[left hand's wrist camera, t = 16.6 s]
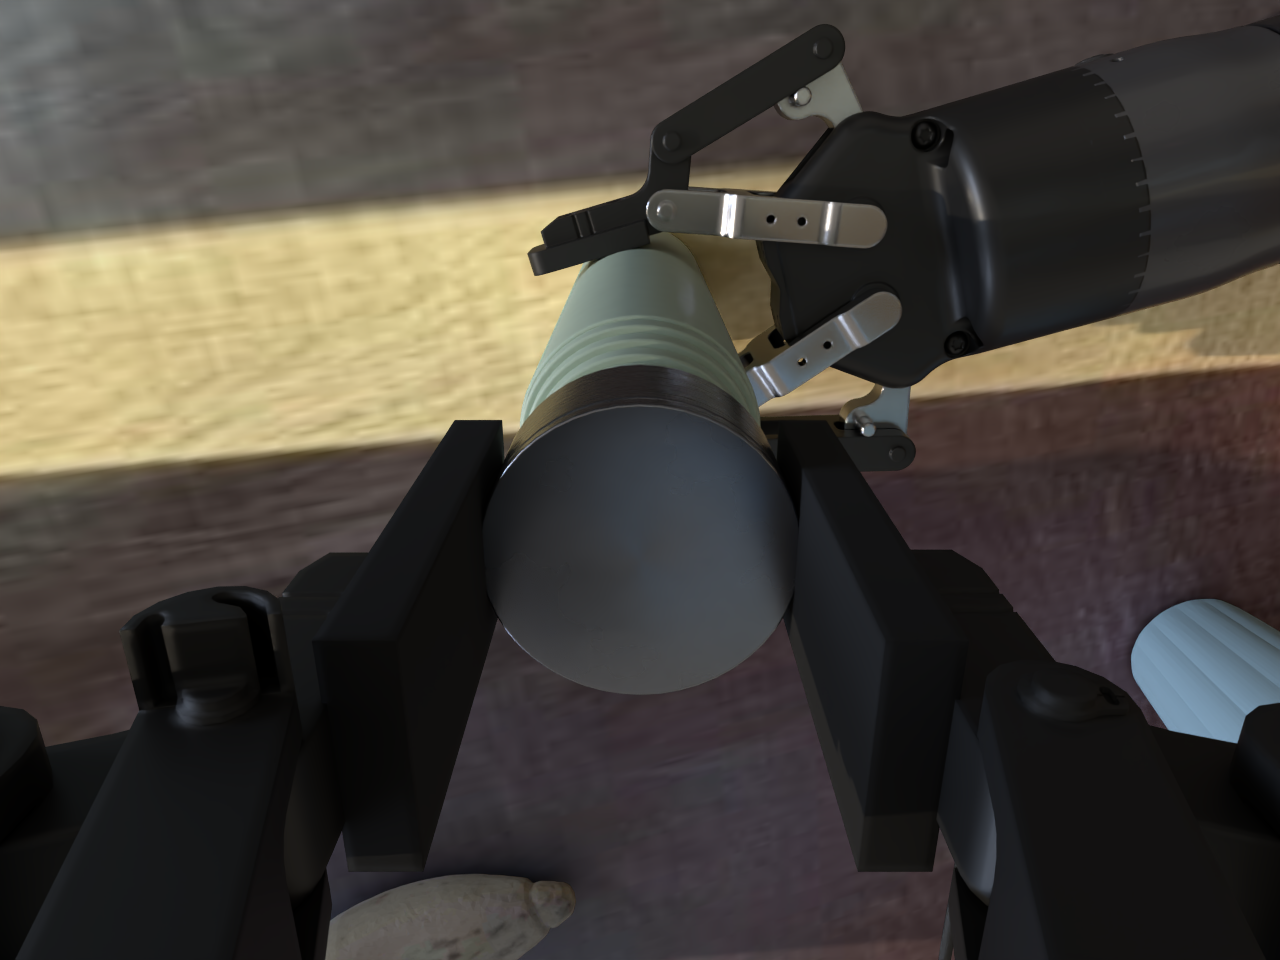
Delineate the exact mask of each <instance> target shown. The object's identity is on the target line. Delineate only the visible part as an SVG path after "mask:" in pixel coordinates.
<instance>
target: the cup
mask: <svg viewBox="0 0 1280 960" xmlns="http://www.w3.org/2000/svg"><path fill="white" fill-rule="evenodd" d="M1131 665H1132V673H1133V676H1134V679H1135V681H1136V682H1137V684H1138V685H1139V687H1140V688H1141V690H1142V691H1143V693H1144V694H1145V696H1146V697H1147V699H1148V700H1149V702H1150V703H1151V705H1152V706H1153V708H1154V709H1155V711H1156V712H1157V714H1158V715H1159V716H1160V718H1161V719H1162V721H1163V722H1164V724H1165V725H1166V727H1167V728H1168V730H1170V731H1175V732H1181V733H1186V734H1191V735H1196V736H1201V737H1207V738H1212V739H1217V740H1222V741H1227V742H1233V743H1237V742H1238V739H1239V736H1240V733H1241V729H1242V726H1243V723H1244V720H1245V716H1246V715H1247V714H1249V713H1250V712H1251V711H1253V710H1254V709H1255V708H1256V707H1258V706H1260V705H1267V704H1273V703H1280V631H1278V630H1276V629H1274V628H1273V627H1271V626H1269V625H1268V624H1266V623H1264V622H1263V621H1261V620H1259V619H1258V618H1256V617H1254V616H1252V615H1251V614H1249V613H1247V612H1245V611H1243V610H1242V609H1240V608H1238V607H1236V606H1233V605H1232V604H1229V603H1227V602H1224V601H1222V600H1217V599H1197V600H1190V601H1186V602H1183V603H1180V604H1178V605H1175V606H1173V607H1171V608H1169V609H1167V610H1165V611H1163V612H1162V613H1160V614H1159V615H1158V616H1156V617H1155V618H1154V619H1153V620H1152V621H1151V622H1150V623H1149V624H1148V625H1147V626H1146V627H1145V628H1144V629H1143V630H1142V632H1141V633H1140V635H1139V636H1138V638H1137V640H1136V643H1135V645H1134V648H1133V651H1132V655H1131Z"/></svg>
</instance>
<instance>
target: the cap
mask: <svg viewBox="0 0 1280 960" xmlns="http://www.w3.org/2000/svg"><path fill="white" fill-rule="evenodd" d="M482 535H483V549H484V562H485V576H486V589H487V597H488V599H489V601H490V603H491V605H492V607H493V610H494V612H495V614H496V615H497V617H498V618H499V620H500V622H501V623H502V625H503V626H504V628H505V629H506V631H507V632H508V633H509V634H510V635H511V637H512V638H513V639H514V640H515V641H516V643H517V644H518V645H519V646H520V647H521V648H522V649H524V650H525V651H526V652H527V653H528V654H529V655H530V656H531V657H532V658H534V659H535V660H536V661H538V662H539V663H541V664H542V665H543V666H545V667H546V668H548V669H549V670H551V671H553V672H555V673H557V674H559V675H560V676H562V677H564V678H566V679H569V680H571V681H573V682H576V683H578V684H581V685H583V686H587V687H591V688H594V689H598V690H601V691H607V692H613V693H619V694H634V695H647V694H662V693H668V692H674V691H680V690H683V689H687V688H690V687H694V686H697V685H700V684H703V683H705V682H707V681H710V680H712V679H715V678H717V677H719V676H721V675H722V674H724V673H726V672H728V671H730V670H731V669H733V668H735V667H736V666H738V665H739V664H740V663H742V662H743V661H744V660H746V659H747V658H748V657H750V656H751V655H752V654H753V653H754V652H755V651H756V650H757V649H758V648H759V647H761V646H762V645H763V644H764V643H765V641H766V640H767V639H768V638H769V637H770V635H771V634H772V633H773V632H774V630H775V629H776V628H777V626H778V625H779V623H780V621H781V620H782V618H783V617H784V615H785V613H786V612H787V610H788V607H789V605H790V603H791V601H792V598H793V596H794V589H795V577H796V563H797V549H798V536H799V518H798V514H797V511H796V508H795V504H794V501H793V499H792V496H791V494H790V492H789V489H788V487H787V484H786V482H785V480H784V477H783V475H782V472H781V470H780V468H779V465H778V463H777V461H776V458H775V456H774V453H773V451H772V449H771V447H770V445H769V442H768V440H767V438H766V436H765V434H764V433H763V431H762V429H761V428H760V426H759V425H758V423H757V422H756V420H755V419H754V418H753V417H752V416H751V414H750V413H749V412H748V411H747V410H746V409H745V408H744V406H743V405H741V404H740V403H739V402H738V401H737V400H736V399H734V398H733V397H732V396H731V395H730V394H729V393H727V392H726V391H724V390H722V389H721V388H719V387H718V386H716V385H715V384H713V383H711V382H709V381H707V380H705V379H703V378H701V377H699V376H697V375H694V374H691V373H688V372H685V371H681V370H678V369H673V368H668V367H663V366H655V365H627V366H618V367H613V368H608V369H603V370H599V371H596V372H593V373H590V374H587V375H584V376H582V377H580V378H578V379H576V380H574V381H572V382H570V383H568V384H566V385H564V386H563V387H561V388H560V389H558V390H557V391H555V392H554V393H552V394H551V395H550V396H549V397H548V398H546V399H545V400H544V401H543V402H542V403H541V404H540V405H538V406H537V407H536V409H535V410H534V411H533V412H532V413H531V414H530V416H529V417H528V418H527V419H526V420H525V422H524V423H523V425H522V426H521V428H520V429H519V431H518V433H517V434H516V436H515V438H514V440H513V442H512V444H511V447H510V449H509V451H508V453H507V456H506V458H505V460H504V463H503V465H502V468H501V470H500V472H499V475H498V477H497V480H496V482H495V484H494V487H493V489H492V492H491V494H490V496H489V499H488V501H487V504H486V507H485V511H484V514H483V518H482Z"/></svg>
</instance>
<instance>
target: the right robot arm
mask: <svg viewBox="0 0 1280 960" xmlns="http://www.w3.org/2000/svg"><path fill="white" fill-rule="evenodd" d="M844 52H845V41H844V38H843V35H842V34H841V32H840V31H839V30H838V29H837V28H836V27H834V26H832V25H828V24H822V25H818V26H816V27H814V28H812V29H810V30H809V31H807V32H806V33H804V34H802V35H801V36H799V37H798V38H796V39H794V40H793V41H791V42H789V43H788V44H786V45H785V46H783V47H781V48H780V49H778V50H777V51H775V52H773V53H772V54H770V55H768V56H767V57H765V58H764V59H762V60H760V61H759V62H757V63H756V64H754V65H752V66H751V67H749V68H748V69H746V70H744V71H743V72H741V73H739V74H738V75H736V76H735V77H733V78H731V79H730V80H728V81H727V82H725V83H723V84H722V85H720V86H719V87H717V88H715V89H714V90H712V91H710V92H709V93H707V94H706V95H704V96H702V97H701V98H699V99H698V100H696V101H694V102H693V103H691V104H689V105H688V106H686V107H685V108H683V109H681V110H680V111H678V112H677V113H675V114H673V115H672V116H670V117H669V118H667V119H665V120H664V121H662V122H660V123H659V124H658V125H657V126H656V127H655V128H654V130H653V131H652V134H651V138H650V154H649V168H648V176H647V179H646V181H645V183H644V185H643V186H642V188H641V189H640V190H639V191H637V192H636V193H634V194H632V195H629V196H626V197H623V198H619V199H616V200H613V201H609V202H606V203H602V204H599V205H596V206H592V207H589V208H586V209H582V210H579V211H576V212H572V213H569V214H565V215H562V216H559V217H557V218H556V219H555V220H554V221H552V222H551V223H550V224H549V225H548V226H546V227H545V228H544V229H543V230H542V231H541V234H542V237H543V241H544V244H542V245H539V246H536V247H534V248H532V249H531V250H530V251H529V252H528V253H527V254H528V257H529V260H530V263H531V267H532V270H533V273H534V276H538V275H543V274H547V273H550V272H554V271H557V270H561V269H564V268H568V267H571V266H575V265H578V264H582V263H585V262H588V261H592V260H595V259H599V258H602V257H606V256H609V255H612V254H615V253H617V252H622V251H626V250H630V249H633V248H637V247H640V246H644V245H647V244H651V242H650V236H651V235H654V234H658V233H661V232H673V233H688V234H702V235H717V236H724V237H729V238H737V239H750V240H756V244H757V249H758V253H759V257H760V259H761V261H762V263H763V265H764V267H765V269H766V271H767V273H768V274H769V276H770V278H771V299H770V306H771V310H772V315H773V319H774V323H775V325H773V326H772V327H770V328H769V329H767V330H766V331H764V332H763V333H761V334H760V335H759V336H757V337H756V338H754V339H753V340H752V341H751V342H750V343H749V344H748V345H747V346H746V348H745V349H744V350H743V351H741V352H740V353H739V354H738V356H739V358H740V360H741V363H742V365H743V367H744V369H745V371H746V374H747V376H748V378H749V380H750V383H751V385H752V387H753V390H754V393H755V396H756V399H757V403H758V407H759V406H761V405H762V404H764V403H765V402H767V401H769V400H770V399H772V398H775V397H781V396H784V395H786V394H788V393H790V392H791V391H793V390H794V389H796V388H797V387H799V386H800V385H802V384H803V383H805V382H806V381H808V380H809V379H811V378H813V377H814V376H816V375H817V374H819V373H820V372H822V371H823V370H825V369H826V368H828V367H829V366H830V367H832V368H835V369H838V370H840V371H843V372H846V373H848V374H851V375H854V376H857V377H859V378H862V379H865V380H867V381H870V382H873V383H875V385H874V387H873V389H872V390H871V392H870V393H869V394H867V395H866V396H864V397H861V398H856V399H852V400H850V401H848V402H847V403H845V404H844V406H843V407H842V409H841V411H840V415H813V416H777V417H760V427H761V429H762V431H763V433H764V434H765V436H766V438H767V440H768V442H769V445H770V447H771V449H772V451H773V453H774V456H775V458H776V460H777V444H778V428H779V420H826V421H827V422H828V424H829V425H830V427H831V428H832V430H833V431H834V433H835V434H836V436H837V438H838V439H839V441H840V442H841V444H842V445H843V447H844V448H845V450H846V451H847V453H848V454H849V456H850V458H851V459H852V461H853V462H854V464H855V465H856V467H857V468H858V470H859V471H860V472H861V471H896V470H902V469H904V468H906V467H907V466H909V465H910V464H911V463H912V461H913V460H914V458H915V454H916V449H915V445H914V443H913V442H912V441H911V440H910V438H909V437H908V435H907V423H908V411H909V400H910V389H911V386H912V385H914V384H916V383H918V382H920V381H921V380H922V379H923V378H925V377H926V376H927V375H928V374H929V373H930V372H931V371H933V370H934V369H935V368H937V367H938V366H940V365H942V364H943V363H945V362H947V361H950V360H952V359H956V358H960V357H965V356H970V355H974V354H979V353H982V352H986V351H990V350H993V349H997V348H1001V347H1004V346H1008V345H1012V344H1016V343H1019V342H1023V341H1027V340H1031V339H1034V338H1038V337H1042V336H1046V335H1049V334H1053V333H1057V332H1061V331H1064V330H1068V329H1072V328H1076V327H1079V326H1083V325H1087V324H1091V323H1094V322H1098V321H1102V320H1106V319H1109V318H1113V317H1117V316H1121V315H1124V314H1128V313H1132V312H1135V311H1139V310H1143V309H1147V308H1150V307H1154V306H1158V305H1161V304H1165V303H1169V302H1173V301H1177V300H1180V299H1184V298H1187V297H1191V296H1194V295H1197V294H1200V293H1203V292H1206V291H1209V290H1211V289H1214V288H1217V287H1219V286H1222V285H1224V284H1226V283H1229V282H1231V281H1233V280H1236V279H1238V278H1241V277H1243V276H1246V275H1248V274H1251V273H1253V272H1256V271H1259V270H1262V269H1265V268H1269V267H1272V266H1274V265H1277V264H1280V15H1278V16H1275V17H1272V18H1268V19H1265V20H1261V21H1258V22H1255V23H1251V24H1248V25H1245V26H1239V27H1235V28H1231V29H1227V30H1223V31H1218V32H1212V33H1206V34H1200V35H1193V36H1185V37H1179V38H1173V39H1168V40H1163V41H1159V42H1155V43H1151V44H1147V45H1143V46H1140V47H1137V48H1133V49H1130V50H1127V51H1123V52H1120V53H1116V54H1106V55H1103V54H1102V55H1097V56H1094V57H1091V58H1088V59H1086V60H1083V61H1081V62H1079V63H1077V64H1076V65H1075V66H1073V67H1069V68H1066V69H1063V70H1059V71H1056V72H1052V73H1049V74H1046V75H1042V76H1039V77H1036V78H1032V79H1029V80H1026V81H1022V82H1019V83H1016V84H1012V85H1009V86H1006V87H1002V88H999V89H995V90H992V91H989V92H985V93H982V94H978V95H975V96H972V97H968V98H965V99H962V100H958V101H955V102H951V103H948V104H945V105H941V106H938V107H934V108H931V109H928V110H924V111H921V112H917V113H914V114H910V115H906V116H902V117H894V116H888V115H884V114H881V113H877V112H872V111H865V112H863V110H862V108H861V105H860V103H859V101H858V99H857V96H856V94H855V92H854V90H853V87H852V85H851V83H850V81H849V78H848V76H847V74H846V72H845V69H844V67H843V65H842V63H841V60H842V58H843V56H844ZM773 105H774V107H775V109H776V111H777V113H778V114H779V115H780V116H781V117H783V118H785V119H787V120H800V119H804V118H806V117H809V116H816V117H819V118H820V119H822V120H823V121H824V122H825V123H826V124H827V126H828V129H827V130H826V131H825V133H824V134H823V135H822V136H821V138H820V139H819V140H818V141H817V143H816V144H815V145H814V146H813V148H812V149H811V150H810V151H809V153H808V154H807V155H806V156H805V158H804V159H803V160H802V161H801V163H800V164H799V165H798V166H797V168H796V169H795V170H794V171H793V173H792V174H791V175H790V176H789V177H788V179H787V180H786V181H785V182H784V184H783V185H782V186H781V187H780V189H779V190H778V191H777V192H770V191H756V190H742V189H726V188H722V189H718V188H703V187H688V185H689V174H690V163H691V155H693V154H694V153H696V152H698V151H699V150H701V149H703V148H704V147H706V146H708V145H709V144H711V143H713V142H714V141H716V140H717V139H719V138H721V137H722V136H724V135H726V134H727V133H729V132H731V131H732V130H734V129H736V128H737V127H739V126H740V125H742V124H744V123H745V122H747V121H749V120H750V119H752V118H754V117H755V116H757V115H759V114H760V113H762V112H764V111H765V110H767V109H768V108H770V107H772V106H773ZM784 340H785V341H786V342H784ZM801 358H803V360H802V361H801V362H798V360H799V359H801Z"/></svg>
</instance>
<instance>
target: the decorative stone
mask: <svg viewBox="0 0 1280 960" xmlns="http://www.w3.org/2000/svg"><path fill="white" fill-rule="evenodd" d="M575 903H576V899H575V893H574V891H573V889H572V888H571V886H570V885H569V884H567V883H564V882H556V881H539V882H535V883H532V882H531V881H530V880H529V879H528V878H523V877H515V876H505V875H488V874H460V875H448V876H442V877H436V878H431V879H425V880H421V881H417V882H413V883H409V884H406V885H403V886H400V887H397V888H394V889H390V890H388V891H385V892H383V893H380V894H378V895H376V896H374V897H372V898H370V899H367V900H365V901H363V902H361V903H359V904H357V905H355V906H353V907H351V908H349V909H348V910H346V911H344V912H343V913H341V914H339V915H337V916H336V917H335V918H333V919H332V920H331V921H330V926H329V934H328V942H327V950H326V958H325V960H517V959H519V958H520V957H521V956H522V955H524V954H525V953H526V952H527V951H529V950H530V949H532V948H533V947H534V946H536V945H537V944H538V943H539V942H540V941H541V940H542V939H543V938H545V936H546V935H547V934H548V932H549V930H550V928H555V927H558V926H559V925H560V924H561V923H562V922H564V921H565V920H566V919H567V918H568V917H570V916H571V914H572V913H573V911H574V907H575Z"/></svg>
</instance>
